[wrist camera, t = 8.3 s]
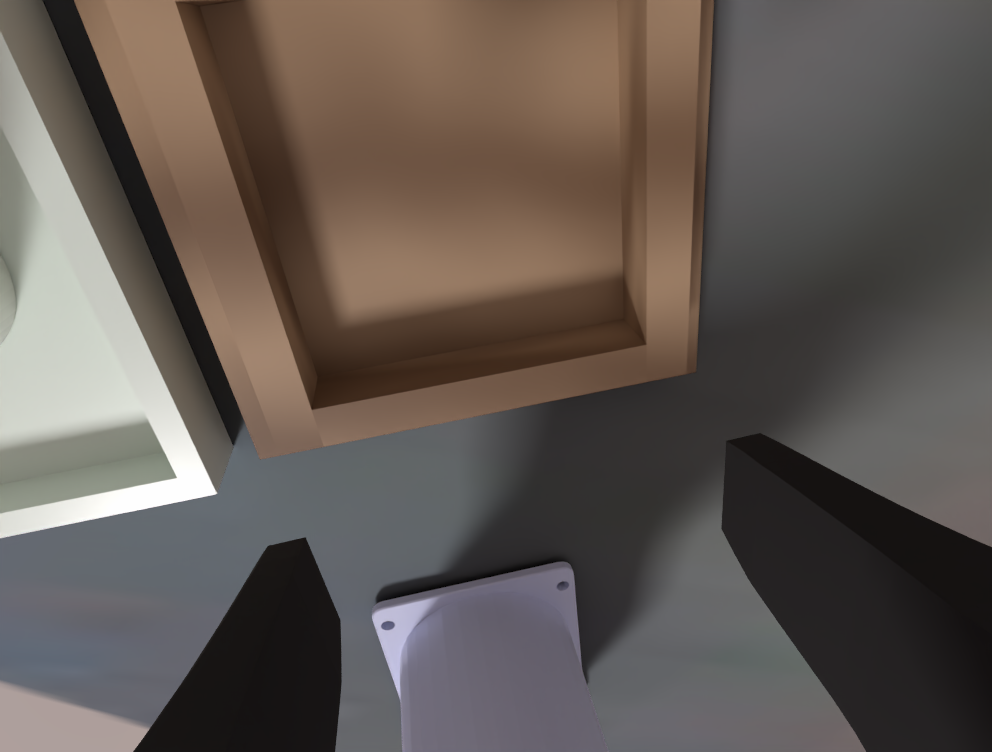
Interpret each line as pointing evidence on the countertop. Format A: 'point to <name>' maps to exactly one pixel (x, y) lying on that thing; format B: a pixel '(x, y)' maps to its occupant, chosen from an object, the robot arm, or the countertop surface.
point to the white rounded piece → (6, 301)
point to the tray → (85, 316)
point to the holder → (422, 197)
